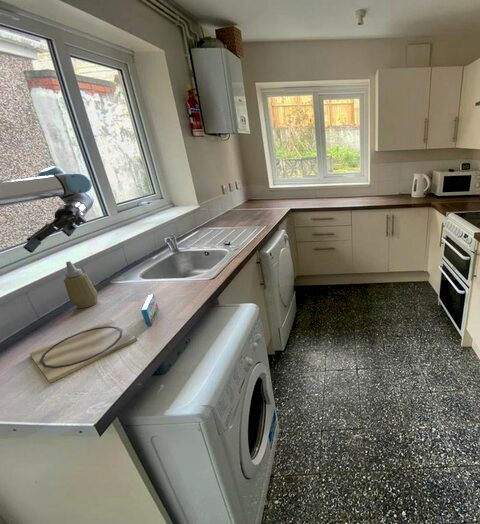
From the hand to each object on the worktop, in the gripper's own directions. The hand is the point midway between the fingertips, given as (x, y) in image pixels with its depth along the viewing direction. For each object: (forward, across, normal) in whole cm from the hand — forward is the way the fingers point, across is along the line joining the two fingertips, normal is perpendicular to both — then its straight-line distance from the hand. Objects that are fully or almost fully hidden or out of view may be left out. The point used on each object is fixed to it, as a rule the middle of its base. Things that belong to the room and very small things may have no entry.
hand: (47, 241), depth 100 cm
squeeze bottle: (+7, +6, -25) cm, 27 cm away
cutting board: (+38, -8, -21) cm, 44 cm away
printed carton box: (+27, -22, -29) cm, 45 cm away
